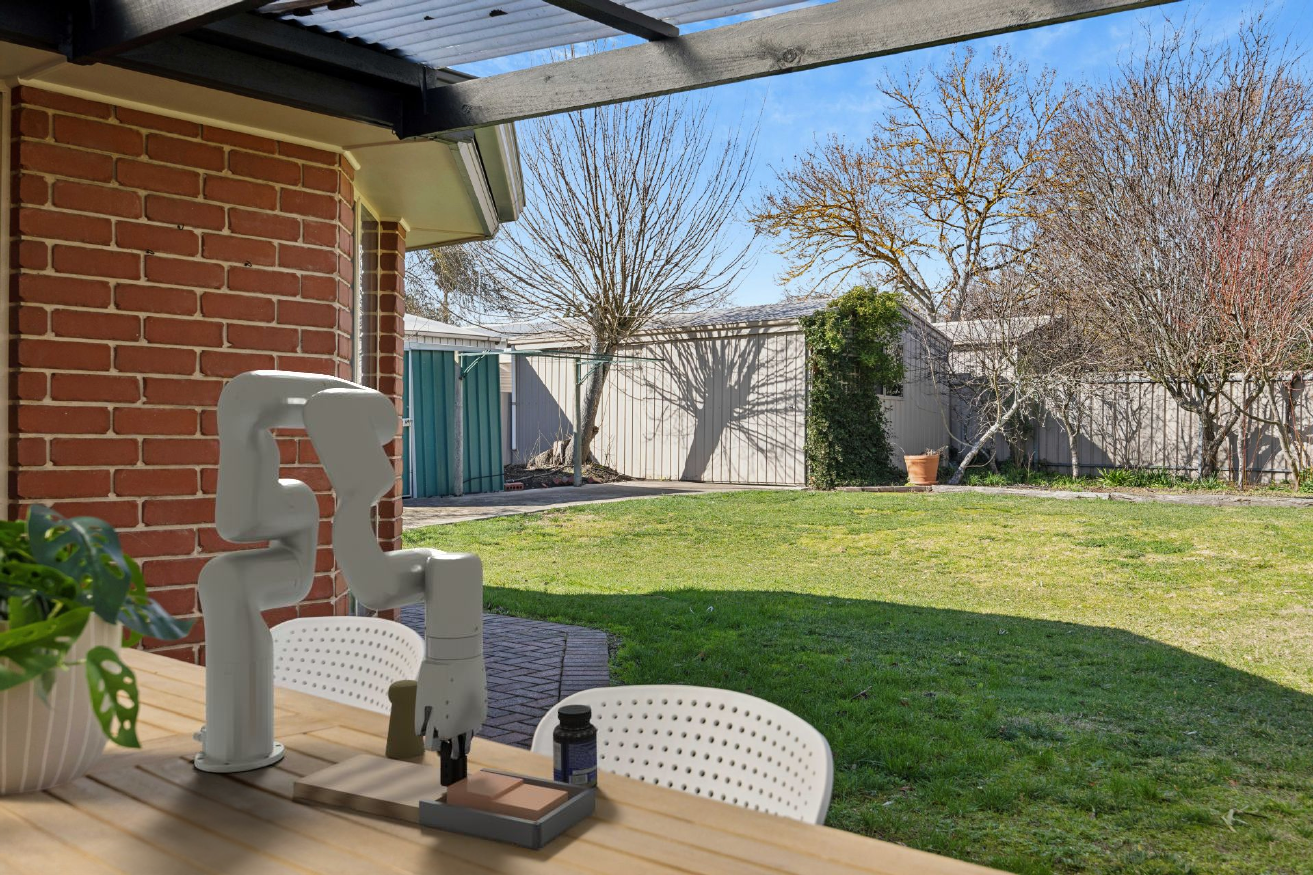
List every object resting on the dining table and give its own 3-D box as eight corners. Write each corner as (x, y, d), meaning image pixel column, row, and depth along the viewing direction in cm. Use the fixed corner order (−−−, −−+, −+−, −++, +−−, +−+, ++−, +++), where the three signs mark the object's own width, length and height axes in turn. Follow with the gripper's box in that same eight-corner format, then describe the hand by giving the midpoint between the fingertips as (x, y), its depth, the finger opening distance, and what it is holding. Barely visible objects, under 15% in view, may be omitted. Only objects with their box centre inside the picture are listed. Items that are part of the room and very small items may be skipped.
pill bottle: (603, 782, 138) (603, 704, 138) (586, 797, 132) (586, 716, 132) (564, 778, 140) (563, 701, 140) (545, 792, 134) (545, 712, 134)
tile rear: (446, 810, 125) (447, 786, 125) (479, 792, 131) (480, 770, 131) (491, 820, 122) (491, 796, 122) (523, 801, 128) (523, 779, 128)
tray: (419, 824, 123) (418, 800, 123) (483, 789, 135) (483, 767, 135) (537, 850, 115) (537, 824, 115) (595, 810, 127) (595, 787, 127)
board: (293, 795, 133) (293, 781, 133) (361, 767, 145) (361, 753, 145) (420, 823, 123) (420, 807, 123) (482, 790, 135) (482, 775, 135)
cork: (414, 759, 148) (414, 686, 148) (378, 756, 149) (377, 684, 149) (431, 746, 154) (431, 677, 154) (396, 744, 155) (396, 675, 155)
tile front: (490, 824, 122) (490, 800, 122) (522, 806, 128) (522, 783, 128) (537, 834, 119) (537, 810, 119) (567, 815, 125) (567, 791, 125)
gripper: (465, 634, 137) (465, 764, 137) (393, 655, 124) (393, 799, 124) (510, 639, 134) (509, 772, 134) (440, 661, 121) (440, 809, 121)
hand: (453, 785), depth 129 cm, fingers closed
